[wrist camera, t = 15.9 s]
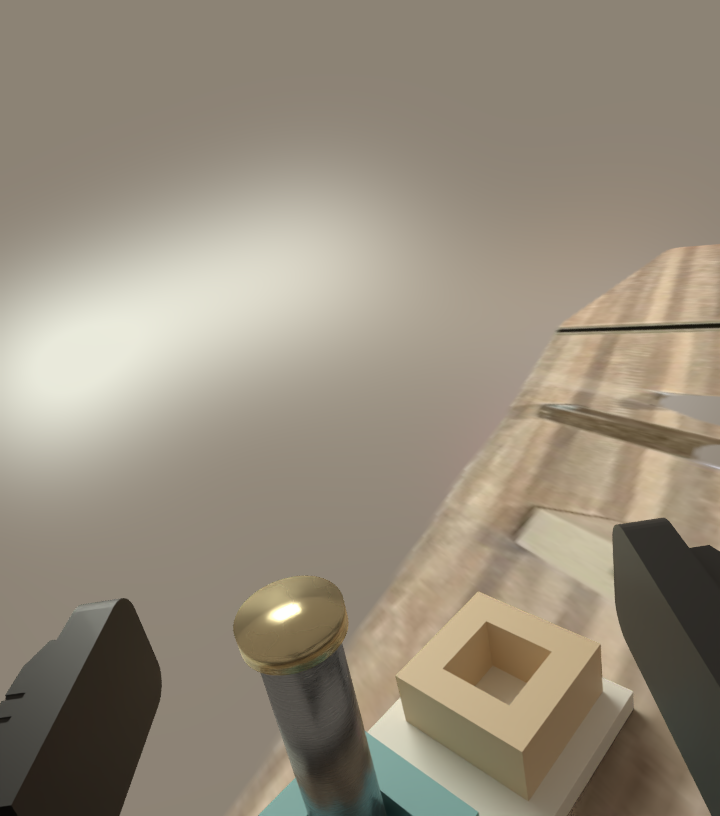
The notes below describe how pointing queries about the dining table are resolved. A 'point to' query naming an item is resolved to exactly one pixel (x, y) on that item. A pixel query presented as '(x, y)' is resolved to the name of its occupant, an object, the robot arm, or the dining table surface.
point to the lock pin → (311, 692)
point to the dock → (492, 720)
